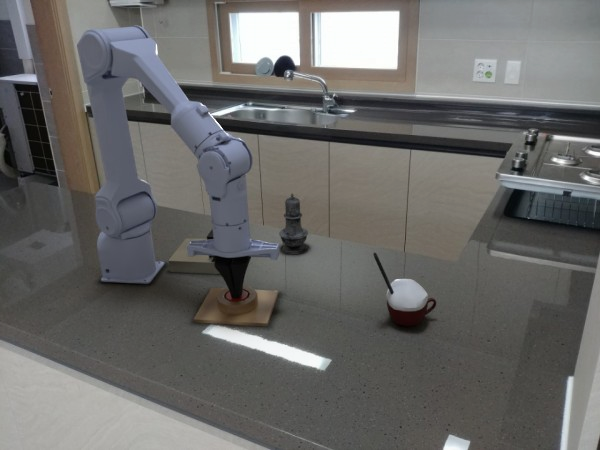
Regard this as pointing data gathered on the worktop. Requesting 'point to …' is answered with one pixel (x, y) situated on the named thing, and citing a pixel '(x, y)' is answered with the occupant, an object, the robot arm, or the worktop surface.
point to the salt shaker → (293, 228)
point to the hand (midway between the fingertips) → (237, 295)
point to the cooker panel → (191, 261)
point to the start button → (243, 297)
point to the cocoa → (406, 300)
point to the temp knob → (210, 236)
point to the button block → (237, 308)
